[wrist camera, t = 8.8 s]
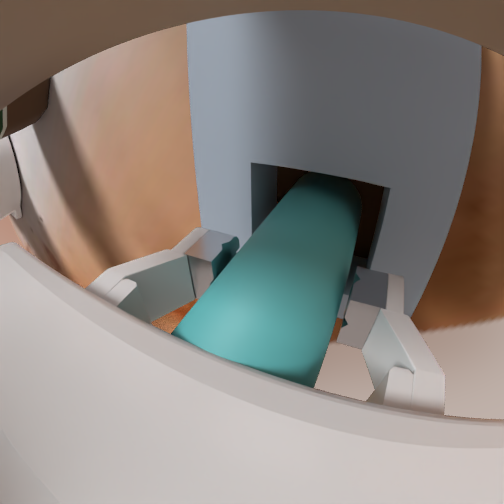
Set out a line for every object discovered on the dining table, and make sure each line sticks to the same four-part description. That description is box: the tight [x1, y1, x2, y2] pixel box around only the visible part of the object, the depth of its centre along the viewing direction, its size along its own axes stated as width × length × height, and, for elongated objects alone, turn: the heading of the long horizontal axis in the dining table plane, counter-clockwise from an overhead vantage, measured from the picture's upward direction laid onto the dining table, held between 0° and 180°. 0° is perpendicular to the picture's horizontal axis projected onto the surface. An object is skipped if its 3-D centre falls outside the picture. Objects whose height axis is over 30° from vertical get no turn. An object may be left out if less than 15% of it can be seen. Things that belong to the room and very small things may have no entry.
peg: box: [171, 171, 362, 388], centre depth 9 cm, size 4×4×10 cm
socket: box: [187, 10, 481, 319], centre depth 9 cm, size 10×16×3 cm, turn 0°
